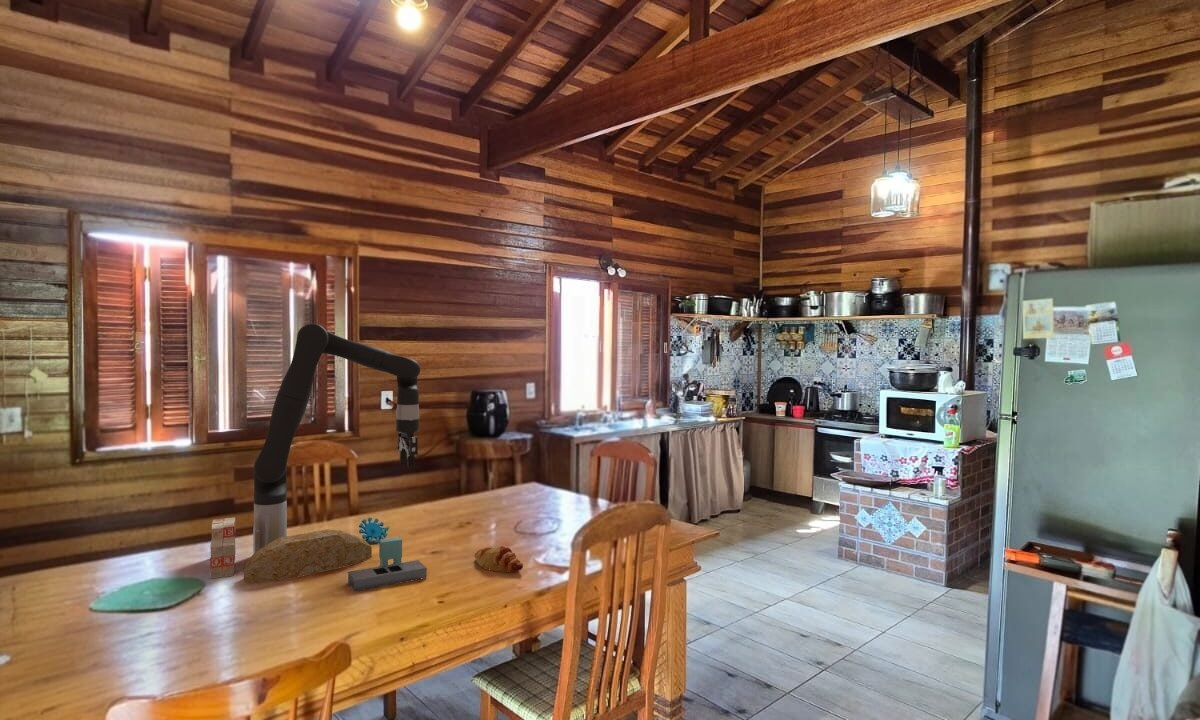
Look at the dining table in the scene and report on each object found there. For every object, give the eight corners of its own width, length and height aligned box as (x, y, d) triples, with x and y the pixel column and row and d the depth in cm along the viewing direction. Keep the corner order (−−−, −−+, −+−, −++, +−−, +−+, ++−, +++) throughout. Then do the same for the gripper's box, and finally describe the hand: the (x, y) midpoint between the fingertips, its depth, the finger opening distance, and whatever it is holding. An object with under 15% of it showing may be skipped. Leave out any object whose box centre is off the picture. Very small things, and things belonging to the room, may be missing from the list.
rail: (354, 591, 182) (354, 580, 182) (348, 582, 189) (348, 571, 188) (426, 578, 192) (426, 567, 192) (418, 570, 199) (418, 560, 199)
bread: (250, 588, 184) (250, 552, 184) (240, 577, 192) (239, 543, 192) (376, 560, 208) (376, 528, 208) (362, 552, 216) (362, 521, 216)
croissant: (468, 572, 208) (458, 552, 205) (490, 550, 215) (481, 531, 212) (515, 587, 194) (505, 566, 191) (537, 563, 201) (528, 543, 198)
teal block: (381, 569, 200) (382, 542, 200) (379, 565, 203) (379, 539, 202) (402, 565, 203) (402, 539, 203) (399, 562, 206) (399, 536, 206)
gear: (364, 542, 220) (357, 516, 226) (356, 552, 223) (349, 526, 228) (394, 540, 228) (387, 515, 234) (386, 549, 231) (379, 525, 236)
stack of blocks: (234, 576, 193) (234, 534, 193) (209, 579, 190) (209, 536, 190) (235, 555, 212) (235, 516, 211) (212, 557, 209) (212, 518, 208)
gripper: (390, 415, 230) (389, 462, 231) (403, 420, 218) (402, 469, 219) (412, 415, 234) (411, 461, 235) (425, 419, 222) (424, 467, 223)
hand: (407, 465), depth 227 cm, fingers open, 8 cm apart
